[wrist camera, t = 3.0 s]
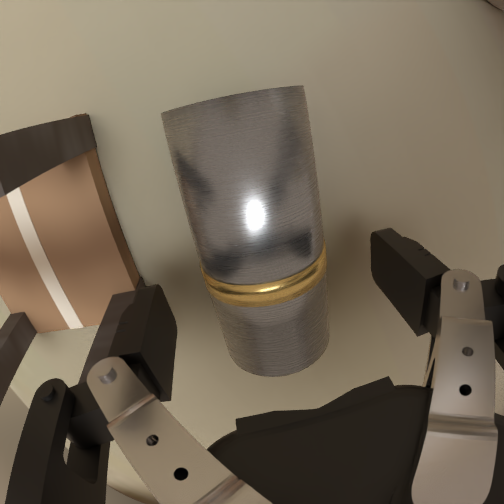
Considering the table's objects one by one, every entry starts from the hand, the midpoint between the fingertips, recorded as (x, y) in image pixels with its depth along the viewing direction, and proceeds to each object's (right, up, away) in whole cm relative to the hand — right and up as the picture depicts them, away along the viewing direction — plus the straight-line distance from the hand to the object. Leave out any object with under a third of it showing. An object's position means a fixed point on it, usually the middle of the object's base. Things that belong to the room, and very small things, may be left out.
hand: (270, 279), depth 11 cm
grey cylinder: (-1, +3, +3) cm, 4 cm away
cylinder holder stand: (-12, +2, +3) cm, 12 cm away
